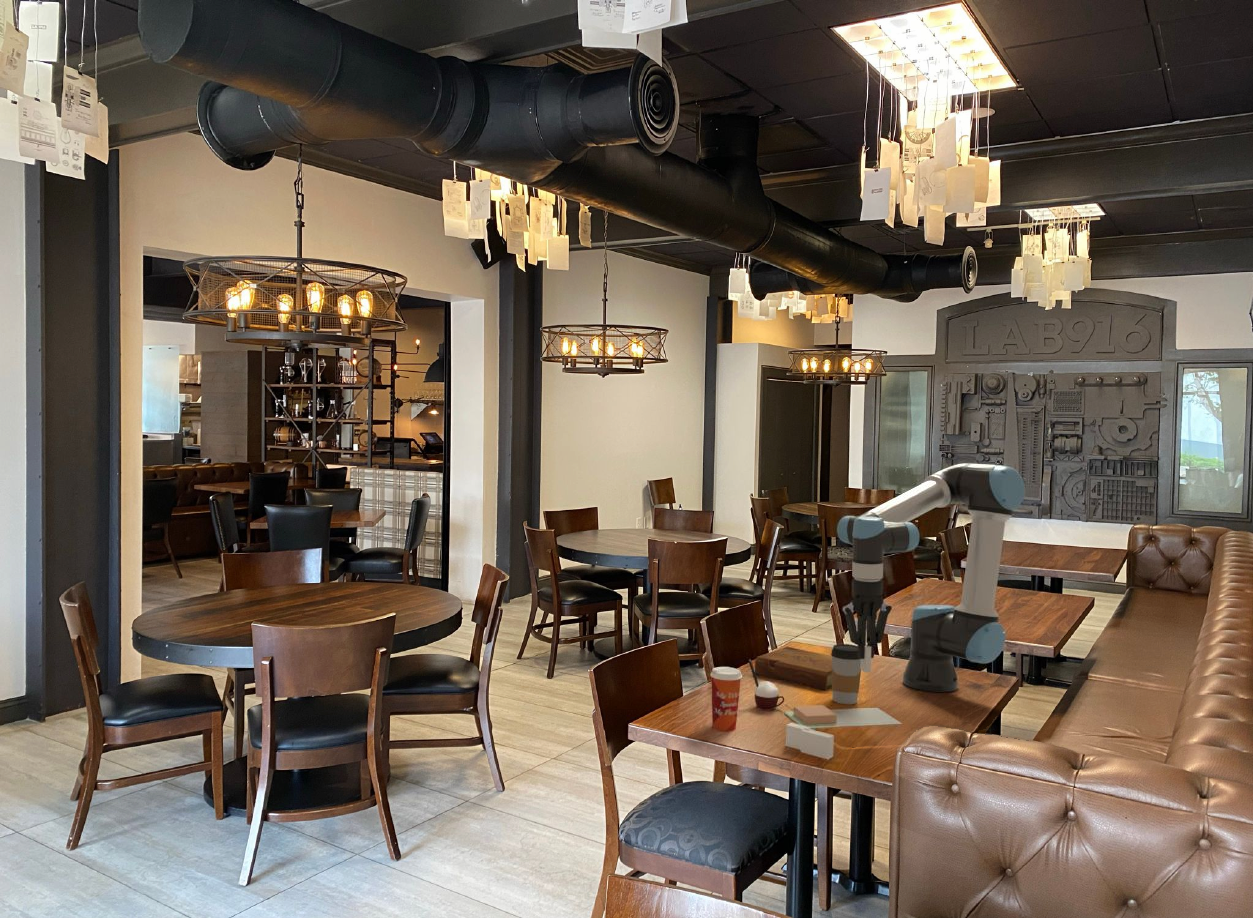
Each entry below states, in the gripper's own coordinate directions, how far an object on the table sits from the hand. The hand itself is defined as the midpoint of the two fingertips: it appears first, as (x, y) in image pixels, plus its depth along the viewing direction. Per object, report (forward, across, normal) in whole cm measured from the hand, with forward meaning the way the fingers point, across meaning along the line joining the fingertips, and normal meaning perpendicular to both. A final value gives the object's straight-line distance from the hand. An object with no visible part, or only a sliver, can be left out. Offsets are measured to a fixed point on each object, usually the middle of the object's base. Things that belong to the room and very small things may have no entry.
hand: (865, 670), depth 244 cm
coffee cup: (+13, -1, -13) cm, 18 cm away
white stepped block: (+12, +24, +20) cm, 34 cm away
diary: (+13, -1, -39) cm, 41 cm away
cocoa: (+12, +22, -12) cm, 28 cm away
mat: (+12, +6, 0) cm, 13 cm away
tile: (+10, +10, 0) cm, 14 cm away
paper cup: (+11, +38, +2) cm, 40 cm away
